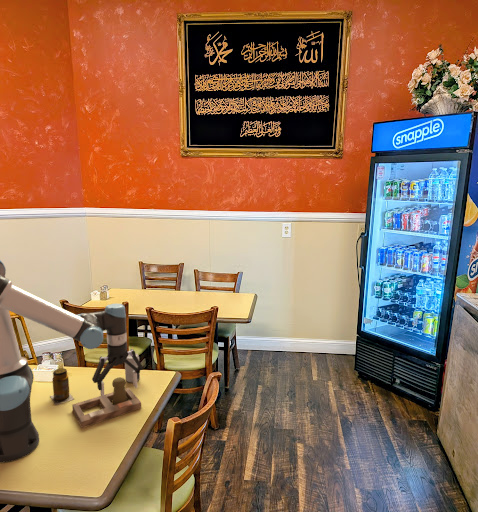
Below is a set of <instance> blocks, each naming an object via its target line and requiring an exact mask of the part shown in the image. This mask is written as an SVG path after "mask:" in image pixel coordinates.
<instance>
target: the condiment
mask: <svg viewBox="0 0 478 512" xmlns="http://www.w3.org/2000/svg"><path fill="white" fill-rule="evenodd" d="M69 380H70V379H69V374H68V370H67V369H66V368H64V367H63V368H56V369H55V370H54V371H52V390H53V394H52V395H50V398H51V400H52V402H53V403H54V405H55V406H56V405H61V404H64V403H68V402H70V401H72V400H75V399H74V397H73V395H72V393H70V384H69V383H70V382H69Z"/></svg>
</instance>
